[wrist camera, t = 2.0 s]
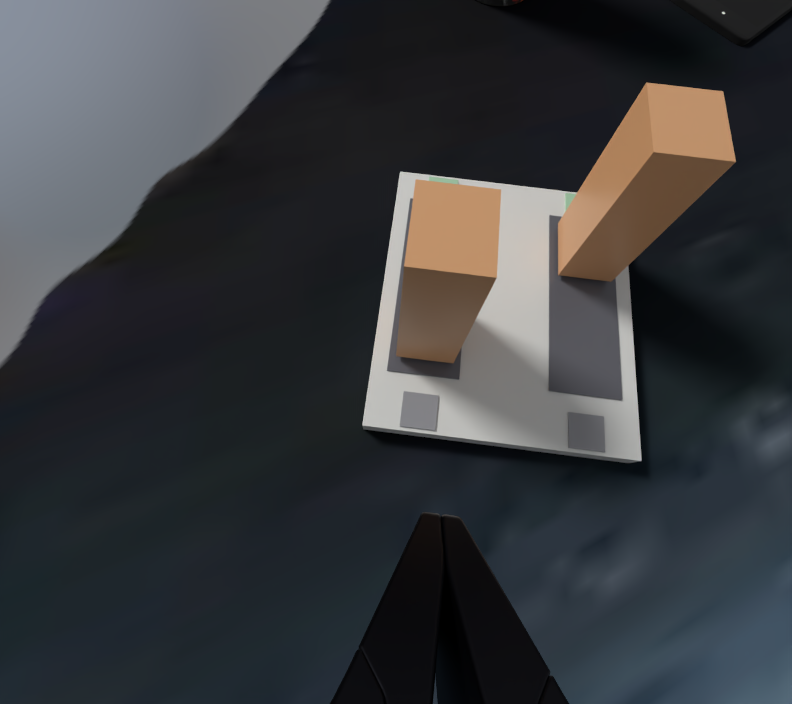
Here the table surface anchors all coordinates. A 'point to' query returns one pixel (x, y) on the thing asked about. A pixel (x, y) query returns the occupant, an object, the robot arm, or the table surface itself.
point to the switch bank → (515, 347)
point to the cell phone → (737, 16)
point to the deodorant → (500, 2)
